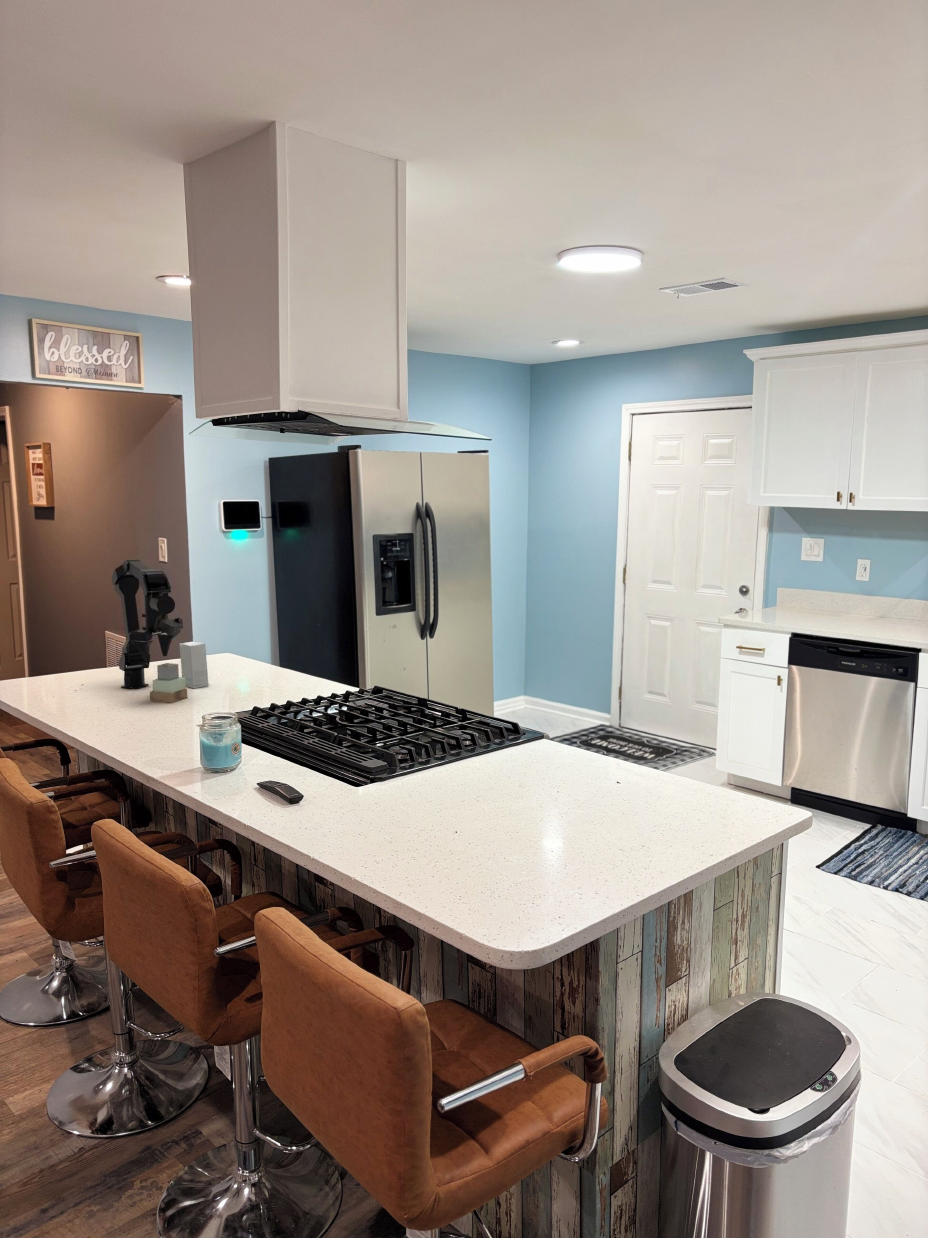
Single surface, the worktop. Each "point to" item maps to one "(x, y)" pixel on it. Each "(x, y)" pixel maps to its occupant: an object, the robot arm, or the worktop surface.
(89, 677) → the worktop surface
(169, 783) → the worktop surface
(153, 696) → the base block
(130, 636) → the robot arm
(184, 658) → the skincare box
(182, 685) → the top block
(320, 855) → the worktop surface
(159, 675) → the cube
